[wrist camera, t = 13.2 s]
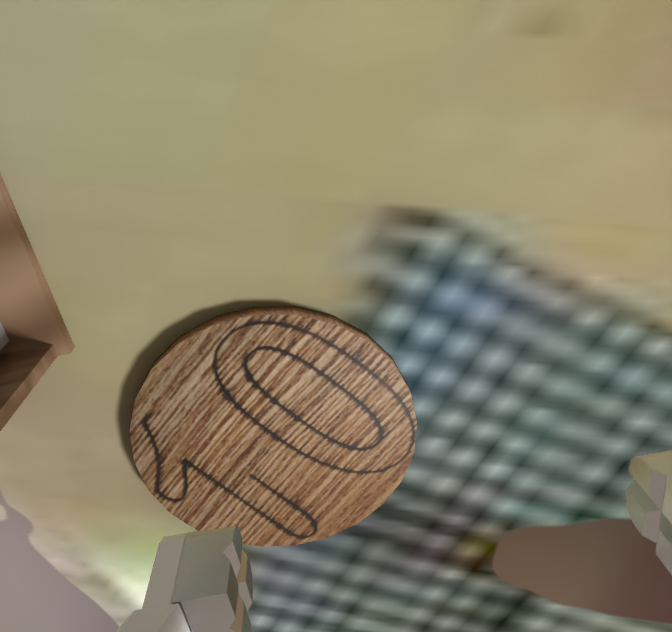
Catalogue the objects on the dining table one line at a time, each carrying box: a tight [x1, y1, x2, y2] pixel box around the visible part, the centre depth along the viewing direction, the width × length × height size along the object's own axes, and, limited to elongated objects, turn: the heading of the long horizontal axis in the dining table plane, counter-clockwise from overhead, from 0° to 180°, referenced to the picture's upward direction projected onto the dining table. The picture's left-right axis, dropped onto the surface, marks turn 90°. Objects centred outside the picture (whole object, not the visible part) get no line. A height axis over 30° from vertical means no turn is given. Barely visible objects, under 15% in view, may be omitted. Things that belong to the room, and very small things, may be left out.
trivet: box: [129, 307, 417, 546], centre depth 49 cm, size 25×25×2 cm
